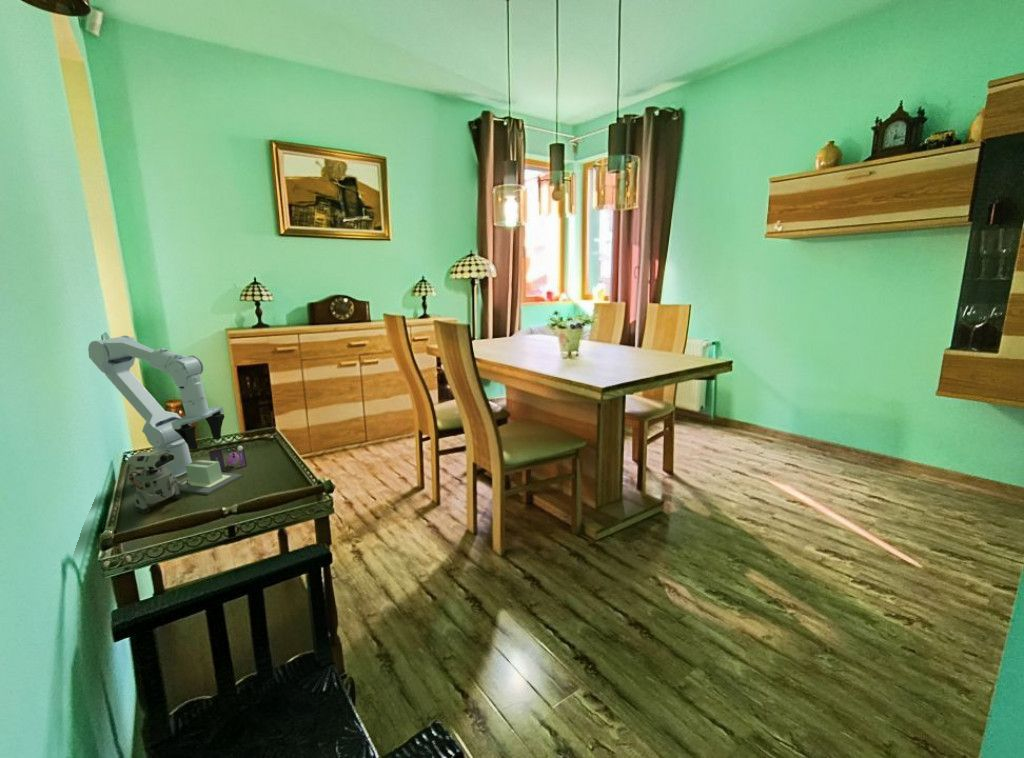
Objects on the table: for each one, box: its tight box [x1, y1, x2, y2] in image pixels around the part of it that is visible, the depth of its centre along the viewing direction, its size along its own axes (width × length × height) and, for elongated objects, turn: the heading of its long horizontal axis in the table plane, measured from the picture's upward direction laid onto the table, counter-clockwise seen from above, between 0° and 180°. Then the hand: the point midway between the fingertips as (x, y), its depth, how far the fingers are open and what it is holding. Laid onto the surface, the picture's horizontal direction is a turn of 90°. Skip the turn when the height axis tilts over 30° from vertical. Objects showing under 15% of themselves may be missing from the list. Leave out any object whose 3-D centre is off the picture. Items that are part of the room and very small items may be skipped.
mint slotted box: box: [185, 459, 223, 484], centre depth 134 cm, size 4×8×5 cm, turn 72°
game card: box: [208, 444, 248, 472], centre depth 144 cm, size 7×5×9 cm
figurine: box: [125, 450, 190, 514], centre depth 121 cm, size 9×12×15 cm
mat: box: [176, 471, 244, 496], centre depth 134 cm, size 16×11×1 cm
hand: (205, 443), depth 138 cm, fingers open, 7 cm apart
